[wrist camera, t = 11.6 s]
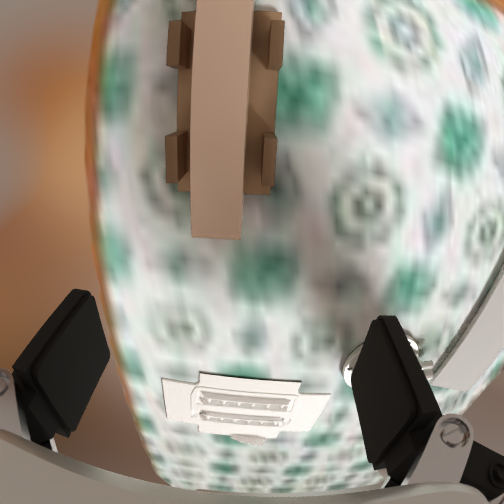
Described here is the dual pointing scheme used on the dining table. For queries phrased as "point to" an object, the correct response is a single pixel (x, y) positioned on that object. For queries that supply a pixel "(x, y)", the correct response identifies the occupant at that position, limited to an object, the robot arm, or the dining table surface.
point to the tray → (242, 406)
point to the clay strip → (219, 116)
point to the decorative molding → (476, 343)
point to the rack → (259, 110)
